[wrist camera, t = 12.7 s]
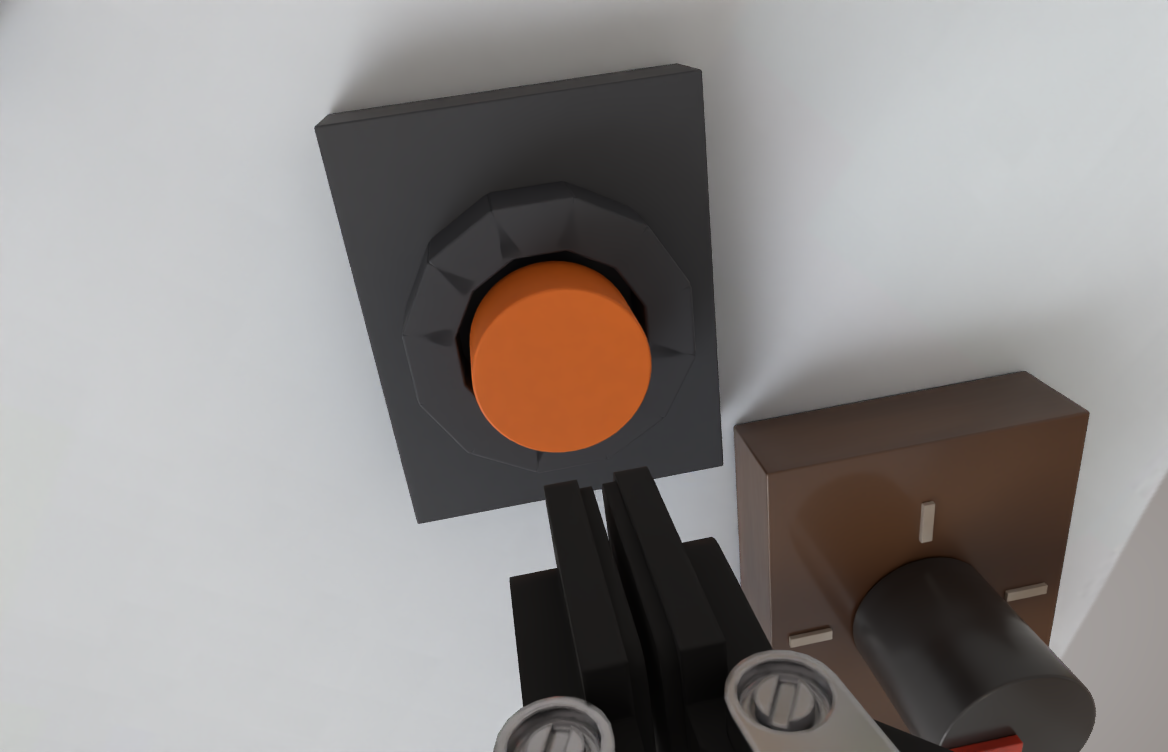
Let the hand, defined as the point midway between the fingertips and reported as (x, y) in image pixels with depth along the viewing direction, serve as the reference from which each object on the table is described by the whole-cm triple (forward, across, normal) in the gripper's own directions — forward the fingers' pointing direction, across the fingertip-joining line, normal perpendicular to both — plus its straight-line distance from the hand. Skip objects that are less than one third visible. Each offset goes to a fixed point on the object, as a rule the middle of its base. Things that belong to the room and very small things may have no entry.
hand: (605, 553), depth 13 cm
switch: (+8, 0, -1) cm, 8 cm away
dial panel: (+12, -11, +11) cm, 19 cm away
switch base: (+11, 0, -1) cm, 11 cm away
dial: (+9, -11, +11) cm, 18 cm away
